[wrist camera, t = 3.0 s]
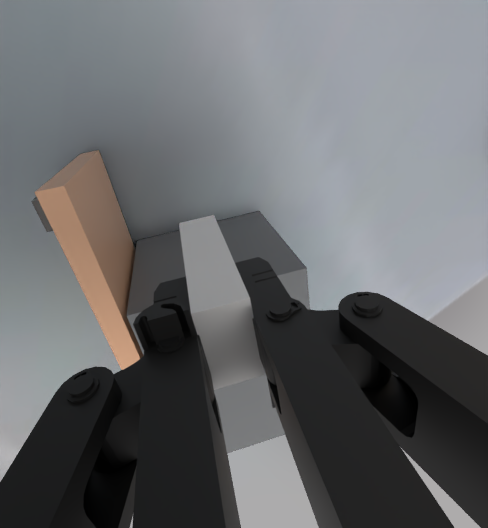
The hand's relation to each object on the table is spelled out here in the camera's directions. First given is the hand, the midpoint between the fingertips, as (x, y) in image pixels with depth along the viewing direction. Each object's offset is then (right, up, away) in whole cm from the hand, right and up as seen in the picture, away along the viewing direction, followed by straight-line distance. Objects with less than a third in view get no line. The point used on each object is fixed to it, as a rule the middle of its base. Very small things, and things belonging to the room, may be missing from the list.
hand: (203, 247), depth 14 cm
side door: (-7, -3, +13) cm, 15 cm away
